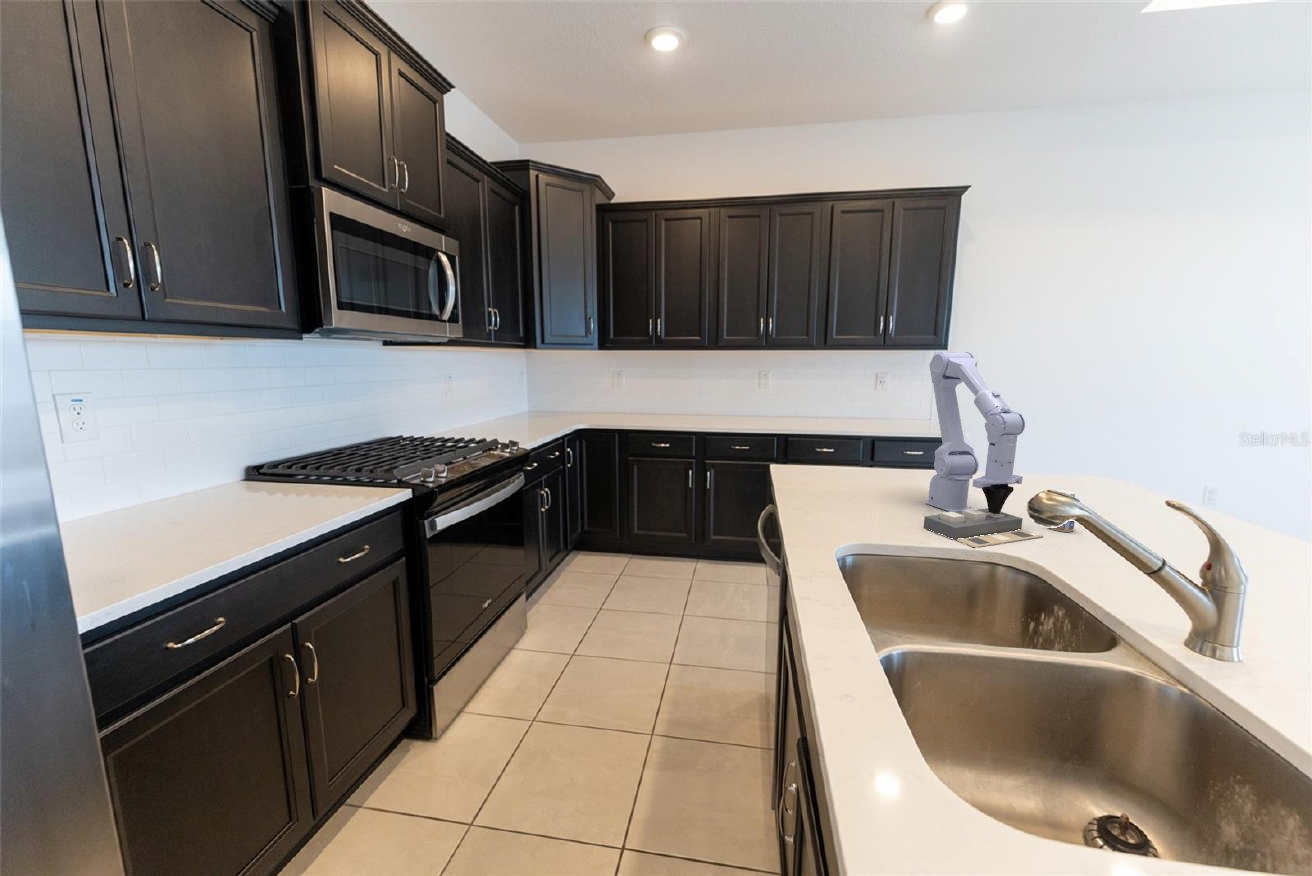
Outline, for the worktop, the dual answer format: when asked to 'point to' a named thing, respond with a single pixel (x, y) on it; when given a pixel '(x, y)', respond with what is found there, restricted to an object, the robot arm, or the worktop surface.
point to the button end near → (952, 517)
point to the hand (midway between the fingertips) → (994, 512)
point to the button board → (973, 525)
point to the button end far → (995, 515)
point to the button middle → (974, 514)
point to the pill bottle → (1070, 524)
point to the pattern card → (998, 538)
